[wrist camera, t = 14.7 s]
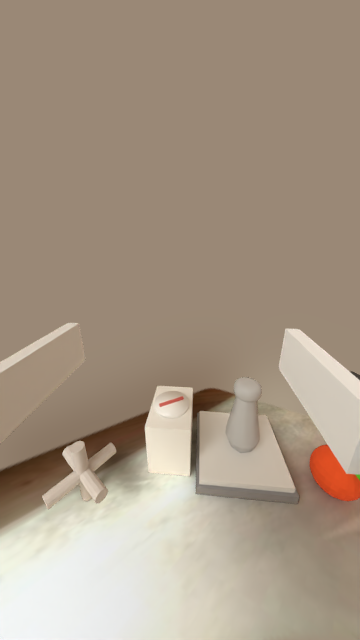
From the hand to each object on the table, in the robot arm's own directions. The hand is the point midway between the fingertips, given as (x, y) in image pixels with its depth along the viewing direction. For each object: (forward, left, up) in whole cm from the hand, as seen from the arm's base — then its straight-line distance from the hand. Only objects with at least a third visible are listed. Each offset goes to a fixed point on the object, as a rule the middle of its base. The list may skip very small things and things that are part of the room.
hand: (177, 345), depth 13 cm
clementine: (+23, +12, -30) cm, 40 cm away
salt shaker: (+9, +17, -28) cm, 34 cm away
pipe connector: (-15, +8, -30) cm, 35 cm away
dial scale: (+5, +17, -30) cm, 35 cm away
